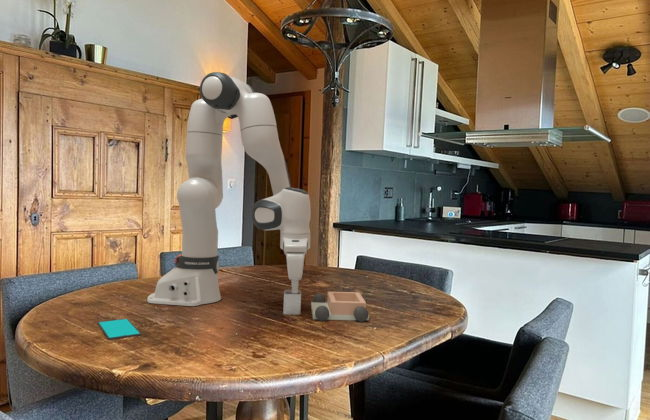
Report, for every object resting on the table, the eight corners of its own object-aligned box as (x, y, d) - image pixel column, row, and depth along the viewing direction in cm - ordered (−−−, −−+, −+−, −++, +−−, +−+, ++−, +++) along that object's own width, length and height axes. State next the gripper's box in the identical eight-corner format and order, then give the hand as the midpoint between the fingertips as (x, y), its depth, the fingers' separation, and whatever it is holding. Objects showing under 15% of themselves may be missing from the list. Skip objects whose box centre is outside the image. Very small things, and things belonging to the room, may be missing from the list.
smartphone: (127, 318, 124) (141, 333, 111) (127, 321, 124) (141, 337, 111) (96, 322, 119) (108, 338, 107) (96, 325, 119) (107, 341, 107)
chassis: (313, 320, 130) (313, 303, 129) (310, 305, 147) (311, 290, 146) (369, 322, 131) (370, 304, 131) (361, 306, 148) (361, 291, 148)
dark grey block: (283, 314, 136) (284, 292, 135) (283, 310, 140) (284, 289, 139) (300, 314, 136) (301, 292, 136) (300, 311, 140) (300, 289, 140)
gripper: (285, 239, 147) (284, 282, 147) (284, 246, 127) (283, 297, 127) (304, 239, 147) (304, 282, 148) (307, 246, 127) (306, 297, 128)
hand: (294, 289), depth 137 cm, fingers open, 8 cm apart
